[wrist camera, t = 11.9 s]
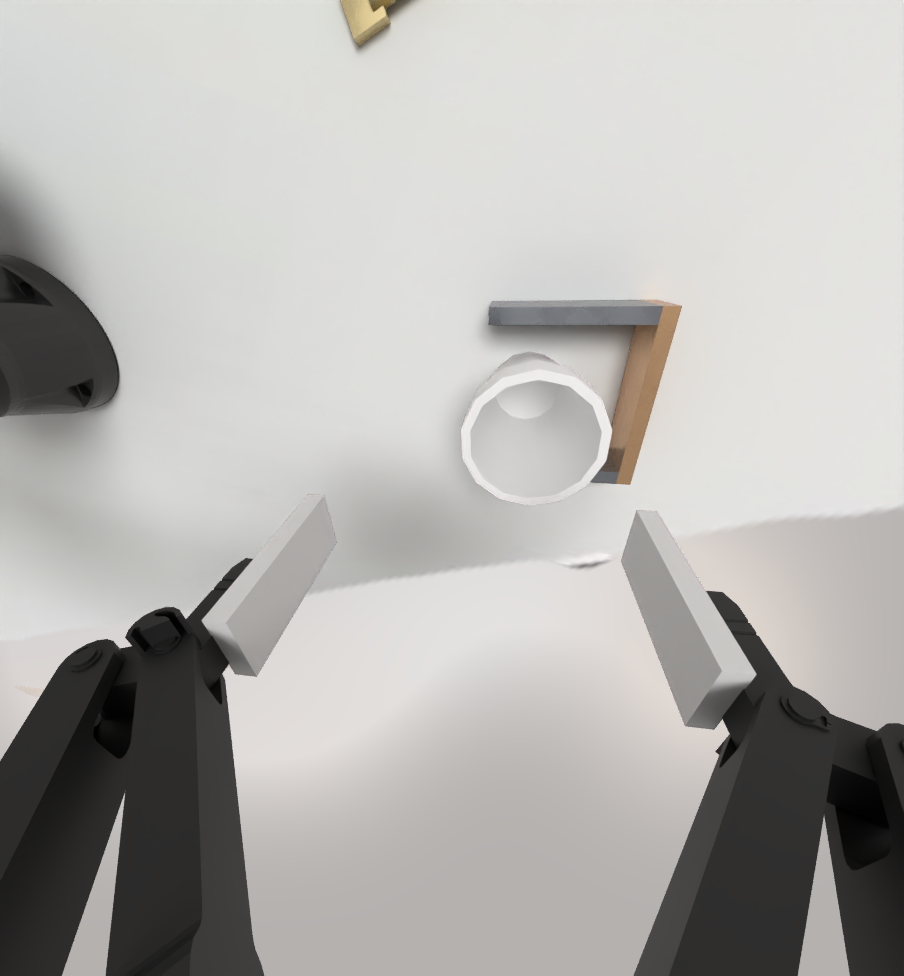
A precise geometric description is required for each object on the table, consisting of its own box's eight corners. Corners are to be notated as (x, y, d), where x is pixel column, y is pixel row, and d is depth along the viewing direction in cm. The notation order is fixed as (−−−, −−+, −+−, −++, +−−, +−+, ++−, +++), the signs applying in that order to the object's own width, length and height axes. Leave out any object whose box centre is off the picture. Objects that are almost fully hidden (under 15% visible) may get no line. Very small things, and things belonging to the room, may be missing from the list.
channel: (486, 453, 38) (483, 476, 34) (492, 301, 30) (489, 307, 26) (616, 459, 36) (630, 484, 32) (657, 299, 29) (682, 305, 24)
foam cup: (570, 433, 35) (596, 508, 25) (478, 432, 37) (464, 503, 26) (584, 330, 30) (625, 367, 20) (477, 334, 32) (458, 370, 21)
